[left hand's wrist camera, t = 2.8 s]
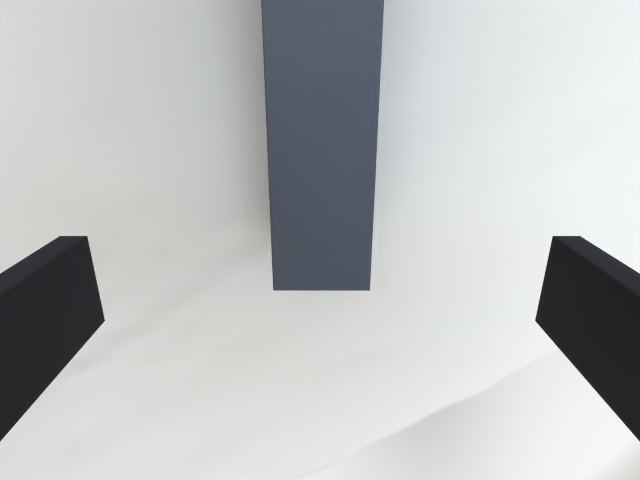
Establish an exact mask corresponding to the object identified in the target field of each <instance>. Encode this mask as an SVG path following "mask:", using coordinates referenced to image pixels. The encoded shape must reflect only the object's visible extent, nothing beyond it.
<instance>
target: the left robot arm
mask: <svg viewBox="0 0 640 480" xmlns="http://www.w3.org/2000/svg"><path fill="white" fill-rule="evenodd" d="M104 321H105V320H104V315H103V310H102V305H101V300H100V295H99V291H98V286H97V281H96V276H95V271H94V267H93V262H92V257H91V252H90V247H89V243H88V238H87V236H59V237H58V238H56V239H55V240H53V241H52V242H50V243H48V244H47V245H45V246H44V247H42V248H40V249H39V250H37V251H36V252H34V253H32V254H31V255H29V256H28V257H26V258H25V259H23V260H21V261H20V262H18V263H17V264H15V265H13V266H12V267H10V268H9V269H7V270H5V271H4V272H2V273H1V274H0V441H1V440H2V439H3V438H4V436H5V435H6V434H7V433H8V432H9V431H10V429H11V428H12V427H13V426H14V425H15V424H16V423H17V421H18V420H19V419H20V418H21V417H22V416H23V414H24V413H25V412H26V411H27V410H28V409H29V408H30V406H31V405H32V404H33V403H34V402H35V401H36V399H37V398H38V397H39V396H40V395H41V394H42V393H43V391H44V390H45V389H46V388H47V387H48V386H49V384H50V383H51V382H52V381H53V380H54V379H55V378H56V376H57V375H58V374H59V373H60V372H61V371H62V370H63V368H64V367H65V366H66V365H67V364H68V363H69V361H70V360H71V359H72V358H73V357H74V356H75V355H76V353H77V352H78V351H79V350H80V349H81V348H82V346H83V345H84V344H85V343H86V342H87V341H88V340H89V338H90V337H91V336H92V335H93V334H94V333H95V331H96V330H97V329H98V328H99V327H100V326H101V325H102V323H103V322H104ZM535 321H536V322H537V323H538V325H539V326H540V327H541V328H542V329H543V330H544V331H545V333H546V334H547V335H548V336H549V337H550V338H551V340H552V341H553V342H554V343H555V344H556V345H557V346H558V348H559V349H560V350H561V351H562V352H563V353H564V355H565V356H566V357H567V358H568V359H569V360H570V361H571V363H572V364H573V365H574V366H575V367H576V368H577V369H578V371H579V372H580V373H581V374H582V375H583V376H584V378H585V379H586V380H587V381H588V382H589V383H590V385H591V386H592V387H593V388H594V389H595V390H596V391H597V393H598V394H599V395H600V396H601V397H602V398H603V399H604V401H605V402H606V403H607V404H608V405H609V406H610V408H611V409H612V410H613V411H614V412H615V413H616V414H617V416H618V417H619V418H620V419H621V420H622V421H623V422H624V424H625V425H626V426H627V427H628V428H629V429H630V431H631V432H632V433H633V434H634V435H635V436H636V438H637V439H638V440H639V441H640V274H639V273H638V272H636V271H635V270H633V269H631V268H630V267H628V266H627V265H625V264H623V263H622V262H620V261H619V260H617V259H615V258H614V257H612V256H611V255H609V254H608V253H606V252H604V251H603V250H601V249H600V248H598V247H596V246H595V245H593V244H592V243H590V242H588V241H587V240H585V239H584V238H582V237H581V236H553V238H552V243H551V247H550V252H549V257H548V262H547V267H546V271H545V276H544V281H543V286H542V291H541V295H540V300H539V305H538V310H537V315H536V320H535Z"/></svg>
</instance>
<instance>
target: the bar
mask: <svg viewBox="0 0 640 480" xmlns="http://www.w3.org/2000/svg"><path fill="white" fill-rule="evenodd" d="M261 4H262V28H263V52H264V76H265V100H266V124H267V148H268V172H269V196H270V221H271V245H272V269H273V290H370V275H371V254H372V234H373V214H374V193H375V173H376V152H377V132H378V111H379V91H380V70H381V50H382V29H383V9H384V0H261Z"/></svg>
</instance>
